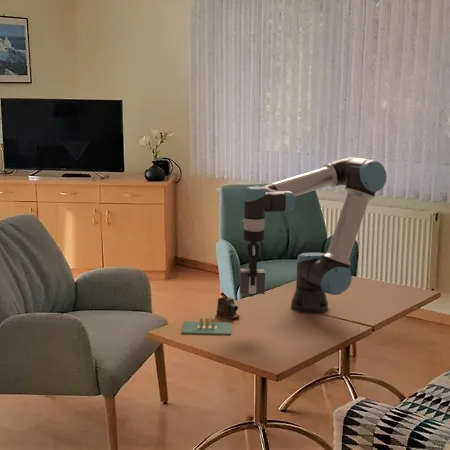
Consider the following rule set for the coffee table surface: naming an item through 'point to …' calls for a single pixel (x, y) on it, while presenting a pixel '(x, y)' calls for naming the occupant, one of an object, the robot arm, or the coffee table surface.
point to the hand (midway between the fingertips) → (252, 290)
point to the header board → (207, 327)
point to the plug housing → (245, 281)
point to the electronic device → (227, 308)
